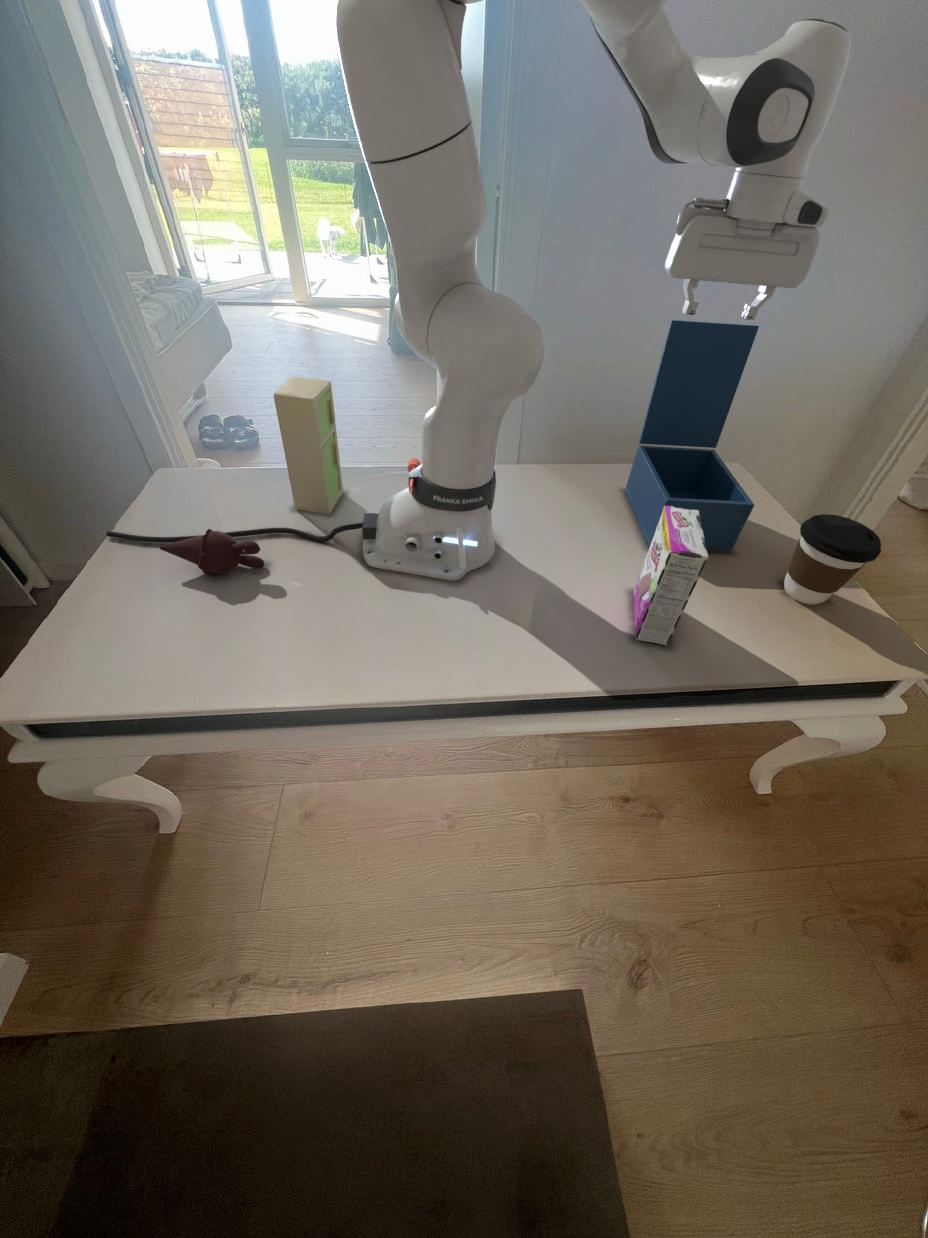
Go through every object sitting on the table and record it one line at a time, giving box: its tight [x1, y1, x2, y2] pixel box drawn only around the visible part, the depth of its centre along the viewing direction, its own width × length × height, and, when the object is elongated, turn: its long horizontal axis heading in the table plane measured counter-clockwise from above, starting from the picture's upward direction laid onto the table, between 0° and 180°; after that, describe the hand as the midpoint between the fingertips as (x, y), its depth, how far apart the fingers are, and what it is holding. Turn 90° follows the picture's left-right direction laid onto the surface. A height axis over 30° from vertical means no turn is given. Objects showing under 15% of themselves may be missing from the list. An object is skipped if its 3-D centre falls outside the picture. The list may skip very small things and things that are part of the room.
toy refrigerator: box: [273, 375, 344, 515], centre depth 90 cm, size 8×7×21 cm
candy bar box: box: [632, 506, 709, 647], centre depth 74 cm, size 11×5×16 cm, turn 168°
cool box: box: [624, 445, 755, 554], centre depth 96 cm, size 20×15×10 cm
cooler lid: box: [638, 319, 760, 449], centre depth 95 cm, size 21×15×5 cm
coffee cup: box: [783, 513, 882, 606], centre depth 82 cm, size 11×11×12 cm
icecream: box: [159, 528, 265, 576], centre depth 80 cm, size 7×7×15 cm
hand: (717, 316), depth 81 cm, fingers open, 8 cm apart
